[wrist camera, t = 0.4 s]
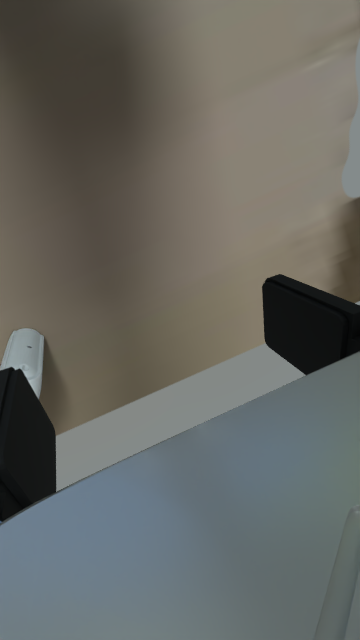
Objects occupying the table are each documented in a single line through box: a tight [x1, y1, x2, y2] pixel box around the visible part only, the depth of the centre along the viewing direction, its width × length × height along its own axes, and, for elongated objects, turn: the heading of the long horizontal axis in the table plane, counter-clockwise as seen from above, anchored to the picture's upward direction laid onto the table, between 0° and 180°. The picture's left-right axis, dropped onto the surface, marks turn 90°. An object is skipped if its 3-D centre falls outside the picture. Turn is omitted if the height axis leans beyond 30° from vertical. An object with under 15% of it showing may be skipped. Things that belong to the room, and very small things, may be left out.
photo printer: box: [0, 328, 44, 399], centre depth 34 cm, size 10×4×12 cm, turn 158°
